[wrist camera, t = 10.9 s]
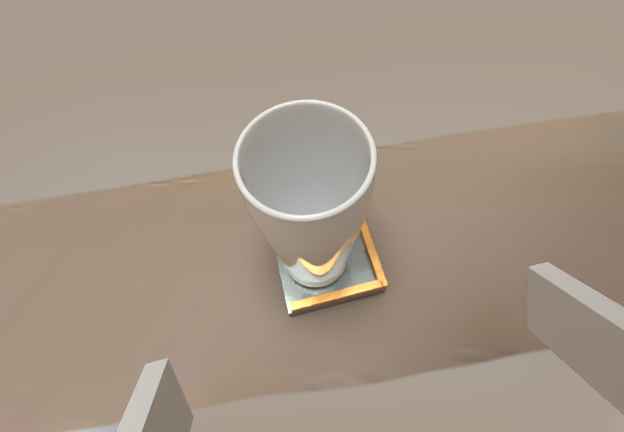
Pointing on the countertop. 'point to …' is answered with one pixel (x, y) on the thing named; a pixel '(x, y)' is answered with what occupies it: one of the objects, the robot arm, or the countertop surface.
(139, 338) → the countertop surface
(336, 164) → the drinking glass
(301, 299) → the square coaster
